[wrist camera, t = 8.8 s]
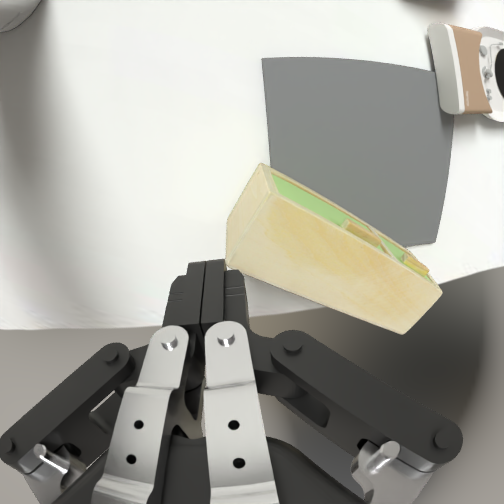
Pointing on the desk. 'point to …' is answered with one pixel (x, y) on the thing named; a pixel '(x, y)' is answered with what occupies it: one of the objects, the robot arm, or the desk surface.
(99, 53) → the desk surface
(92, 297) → the desk surface
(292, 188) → the toy refrigerator
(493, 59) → the record player
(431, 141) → the mat
